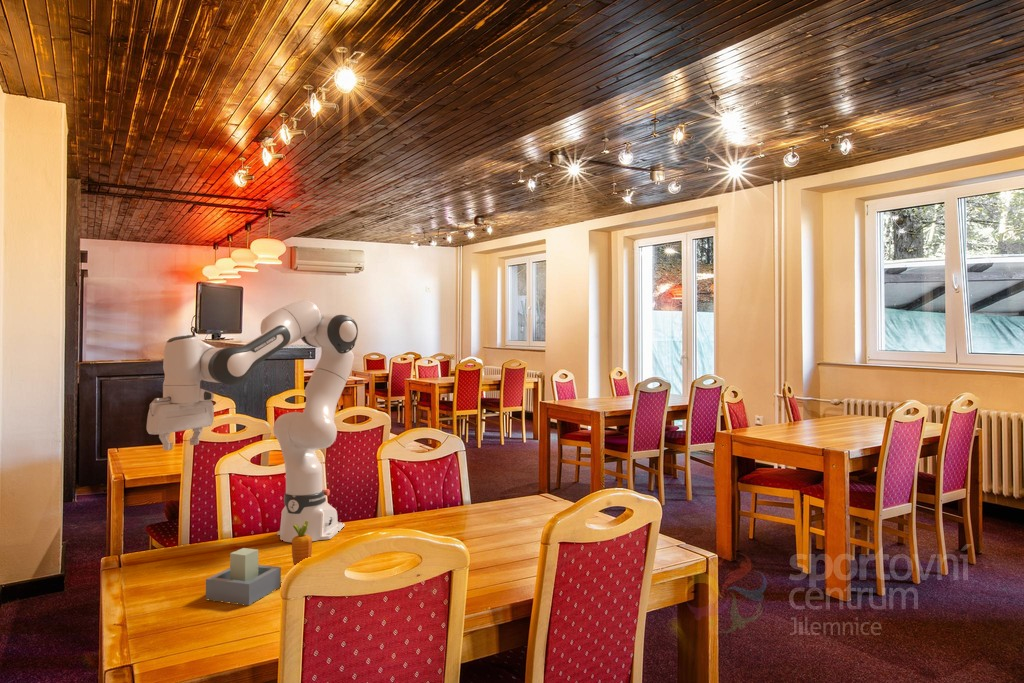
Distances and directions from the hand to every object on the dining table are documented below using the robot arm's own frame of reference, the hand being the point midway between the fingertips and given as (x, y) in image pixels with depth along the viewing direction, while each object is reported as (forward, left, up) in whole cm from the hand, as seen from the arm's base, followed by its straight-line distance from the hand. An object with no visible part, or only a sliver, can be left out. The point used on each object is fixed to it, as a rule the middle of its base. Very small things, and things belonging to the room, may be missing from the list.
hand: (181, 447), depth 172 cm
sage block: (+9, +27, -32) cm, 43 cm away
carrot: (-3, +35, -33) cm, 48 cm away
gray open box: (+9, +27, -33) cm, 44 cm away
